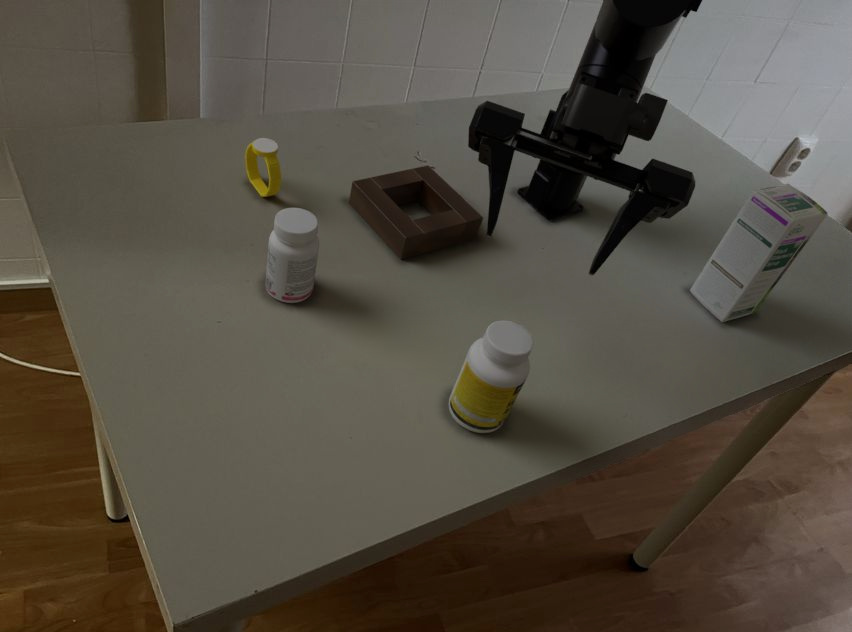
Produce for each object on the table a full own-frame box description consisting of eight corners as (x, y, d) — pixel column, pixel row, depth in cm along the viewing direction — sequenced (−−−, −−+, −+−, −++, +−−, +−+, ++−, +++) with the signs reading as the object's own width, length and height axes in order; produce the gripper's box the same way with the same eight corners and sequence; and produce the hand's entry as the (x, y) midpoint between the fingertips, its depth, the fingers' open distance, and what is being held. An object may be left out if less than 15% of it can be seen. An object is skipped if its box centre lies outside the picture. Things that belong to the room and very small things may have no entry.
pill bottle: (319, 282, 73) (330, 215, 67) (301, 310, 69) (310, 243, 63) (277, 266, 73) (284, 198, 67) (256, 293, 70) (261, 224, 64)
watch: (238, 177, 83) (240, 131, 78) (259, 173, 84) (262, 127, 80) (262, 207, 80) (266, 160, 75) (284, 201, 81) (289, 156, 77)
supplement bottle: (502, 442, 63) (540, 369, 56) (443, 425, 63) (473, 350, 56) (507, 397, 67) (543, 324, 60) (451, 381, 67) (481, 306, 60)
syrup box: (722, 324, 81) (798, 221, 70) (686, 290, 84) (754, 186, 74) (754, 314, 83) (832, 213, 73) (718, 281, 86) (788, 180, 76)
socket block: (422, 185, 89) (428, 165, 87) (476, 238, 83) (483, 217, 81) (348, 202, 83) (352, 181, 81) (400, 260, 78) (406, 238, 76)
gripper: (510, -1, 53) (433, 193, 53) (754, 80, 51) (674, 282, 51) (501, 63, 64) (438, 224, 64) (702, 132, 62) (636, 298, 62)
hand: (539, 255), depth 60 cm, fingers open, 9 cm apart
